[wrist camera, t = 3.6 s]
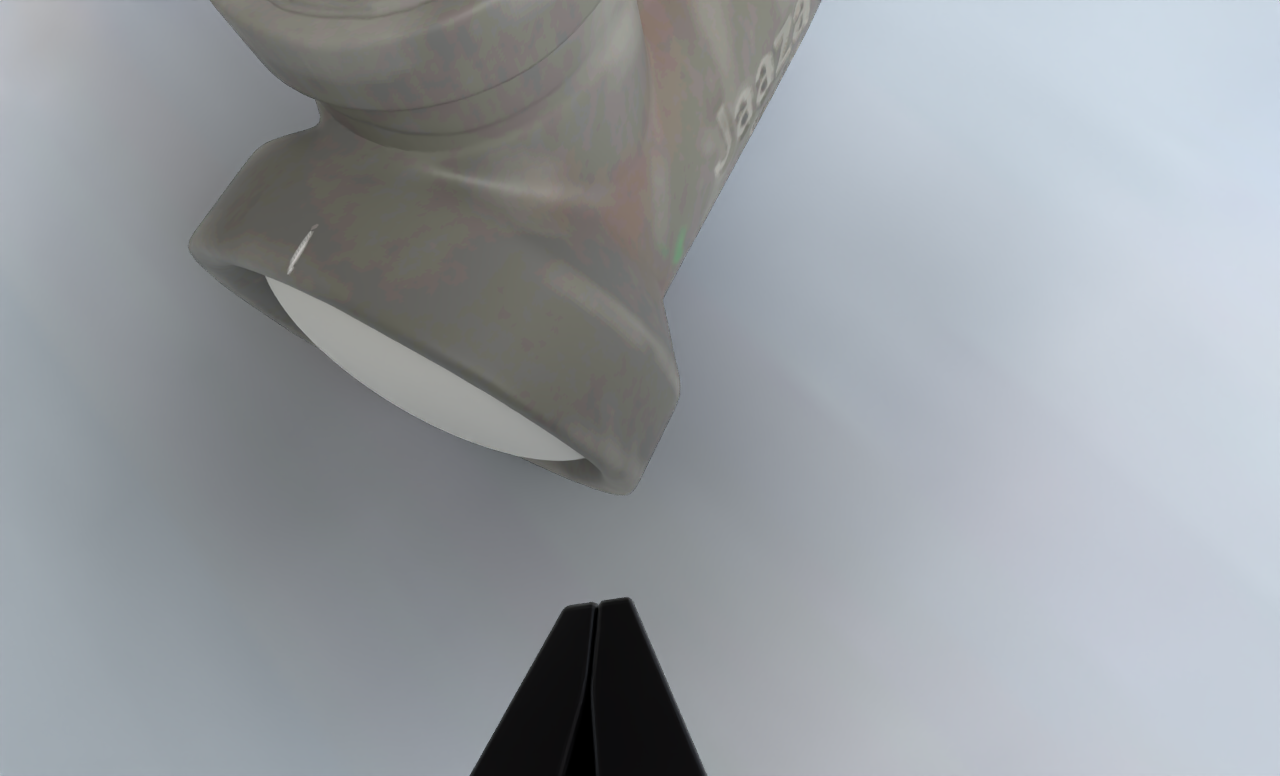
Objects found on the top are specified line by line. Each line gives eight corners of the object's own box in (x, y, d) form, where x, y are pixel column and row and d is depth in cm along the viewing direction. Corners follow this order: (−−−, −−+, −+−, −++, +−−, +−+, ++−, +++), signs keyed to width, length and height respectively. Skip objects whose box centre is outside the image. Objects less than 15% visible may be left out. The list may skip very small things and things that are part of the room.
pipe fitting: (645, 552, 16) (473, 394, 6) (340, 388, 18) (-129, 87, 9) (885, 94, 19) (1018, -506, 9) (593, 0, 21) (451, -564, 11)
